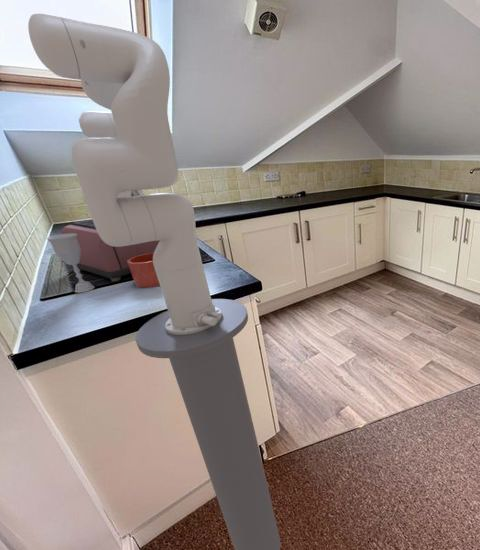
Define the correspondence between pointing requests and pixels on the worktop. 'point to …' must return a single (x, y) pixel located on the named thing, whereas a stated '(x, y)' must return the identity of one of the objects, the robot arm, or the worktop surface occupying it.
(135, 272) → the pot
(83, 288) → the chalice
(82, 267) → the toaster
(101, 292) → the worktop surface
